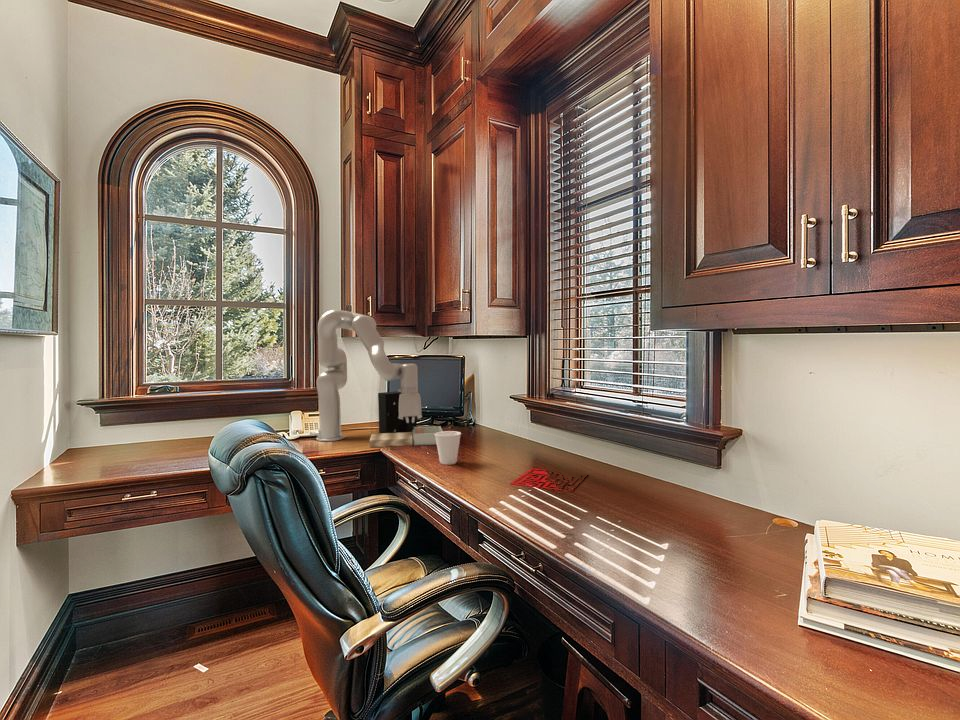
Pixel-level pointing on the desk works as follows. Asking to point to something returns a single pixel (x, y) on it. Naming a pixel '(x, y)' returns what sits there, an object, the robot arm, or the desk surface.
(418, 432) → the tile terracotta
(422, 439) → the tray
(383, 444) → the board
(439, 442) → the cup
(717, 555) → the desk surface
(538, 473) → the maze puzzle
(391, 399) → the electrical component
